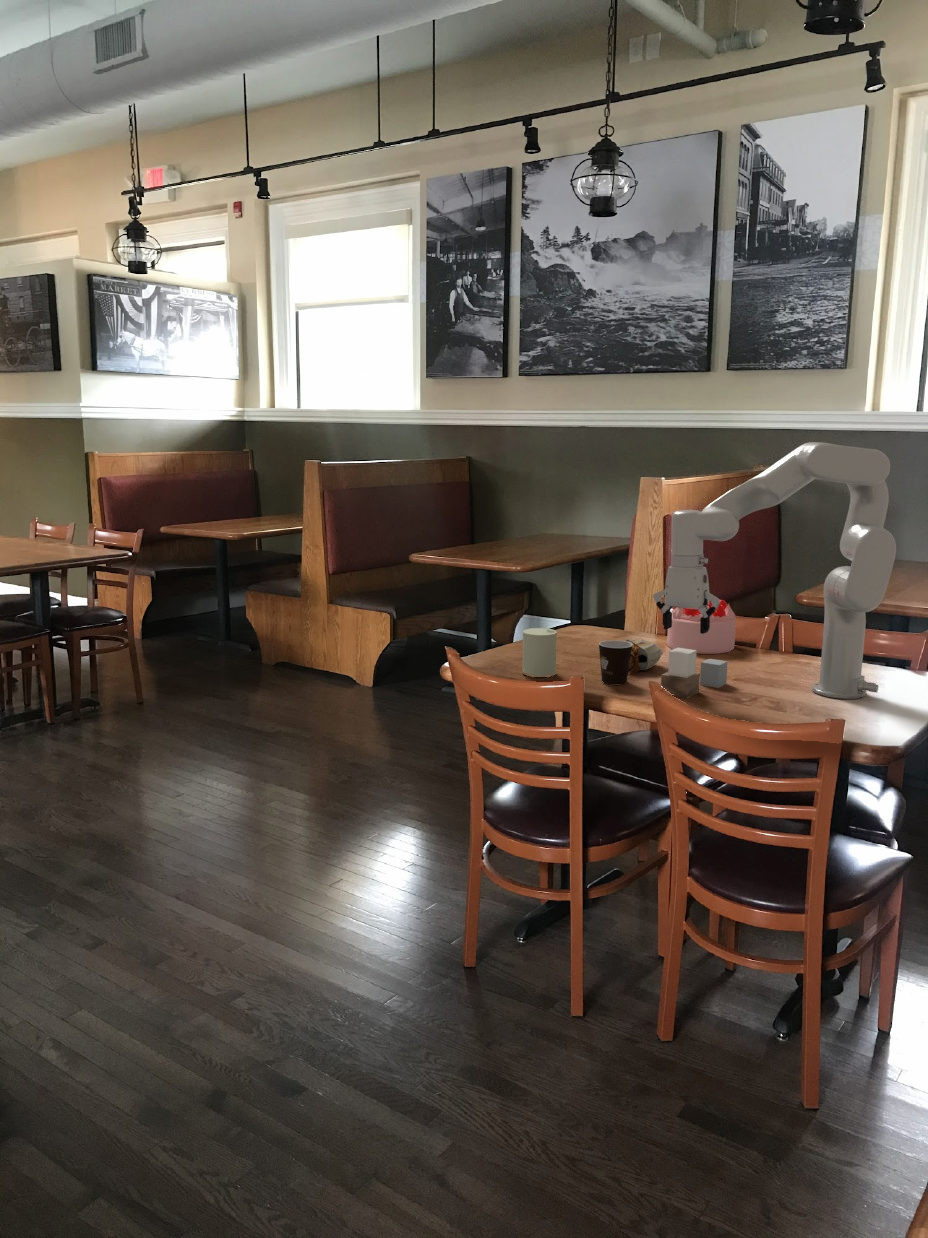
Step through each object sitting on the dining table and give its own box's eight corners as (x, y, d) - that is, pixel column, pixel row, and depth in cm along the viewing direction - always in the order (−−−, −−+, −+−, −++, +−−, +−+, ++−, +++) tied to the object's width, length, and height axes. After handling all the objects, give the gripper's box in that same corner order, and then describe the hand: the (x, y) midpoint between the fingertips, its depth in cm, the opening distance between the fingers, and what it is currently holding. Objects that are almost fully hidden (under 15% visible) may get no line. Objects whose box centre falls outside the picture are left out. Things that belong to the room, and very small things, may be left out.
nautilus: (642, 683, 252) (590, 678, 260) (672, 662, 269) (622, 657, 277) (641, 654, 250) (588, 649, 258) (671, 634, 268) (621, 630, 276)
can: (558, 678, 255) (559, 633, 253) (522, 677, 255) (523, 633, 253) (554, 669, 264) (555, 626, 262) (520, 669, 264) (521, 626, 262)
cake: (655, 648, 290) (657, 601, 287) (686, 637, 305) (688, 592, 302) (716, 658, 277) (718, 609, 275) (745, 646, 292) (748, 599, 290)
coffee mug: (594, 677, 255) (595, 640, 253) (626, 677, 256) (628, 640, 254) (603, 689, 244) (605, 651, 242) (637, 689, 244) (639, 650, 242)
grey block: (726, 684, 250) (727, 661, 249) (718, 688, 246) (719, 665, 245) (708, 680, 253) (709, 658, 252) (699, 684, 249) (700, 662, 248)
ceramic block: (695, 673, 241) (696, 650, 239) (686, 677, 237) (688, 654, 236) (676, 670, 244) (677, 647, 242) (668, 674, 240) (669, 651, 238)
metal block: (698, 692, 242) (699, 673, 241) (686, 699, 236) (687, 679, 235) (672, 688, 246) (673, 669, 245) (660, 694, 241) (661, 674, 240)
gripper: (727, 561, 232) (725, 631, 236) (661, 557, 243) (660, 624, 246) (714, 565, 226) (712, 637, 230) (647, 561, 237) (646, 629, 240)
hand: (685, 630), depth 238 cm, fingers open, 9 cm apart
